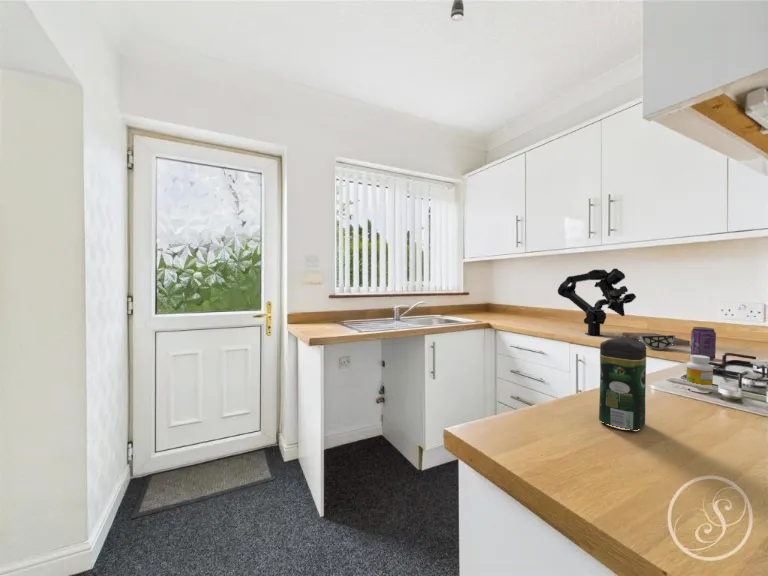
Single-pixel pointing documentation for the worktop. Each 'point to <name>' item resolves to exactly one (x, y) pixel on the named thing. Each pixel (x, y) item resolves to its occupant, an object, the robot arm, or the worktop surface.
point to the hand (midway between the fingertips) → (623, 315)
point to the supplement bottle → (700, 370)
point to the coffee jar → (622, 382)
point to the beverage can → (703, 342)
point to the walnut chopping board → (637, 335)
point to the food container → (658, 341)
